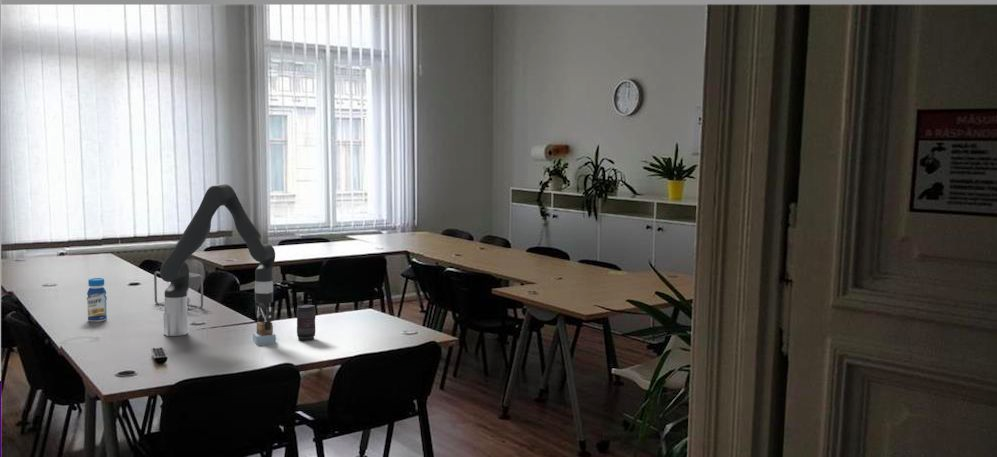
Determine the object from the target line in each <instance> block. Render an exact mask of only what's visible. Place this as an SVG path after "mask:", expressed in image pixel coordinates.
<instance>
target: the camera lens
mask: <svg viewBox="0 0 997 457" xmlns="http://www.w3.org/2000/svg"><path fill="white" fill-rule="evenodd" d="M316 309H317V308H316V305H313V304H300V305H297V307H296V336H297V339H298V341H299V342H310V341H311V342H312V341H313V340H314V339H315V336H316V316H317V314H316Z"/></svg>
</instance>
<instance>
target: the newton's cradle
mask: <svg viewBox="0 0 997 457" xmlns="http://www.w3.org/2000/svg"><path fill="white" fill-rule="evenodd" d="M157 275H160V271H158V270H157V271H155V272H154V273H153V276H154V277H153V278H154V279H153V280H154V281H153V283H154V285H153V286H154V289H153V290H154V302H155V304H156V305H158V306H160V307H165V301H162V302H158V293H157V292H158V287H157V286H158V285H157V282H158V281H157ZM195 277H198V278H199V279H200V305H197V304H192V303H191V297H189V296H188V295H189V292H187V307H188V306H189V307H191V308H187V311H188V310H189V311H190V310H194V309H195V310H196V309H202V308H203V307H204V278H203V275H202V274H199V273H194V272H189V278H195ZM190 282H191V280H189V284H190ZM167 286H168V287H169V286H170V285H167ZM168 287H167V288H168ZM188 290H189V288H188Z"/></svg>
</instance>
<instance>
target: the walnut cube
mask: <svg viewBox="0 0 997 457" xmlns="http://www.w3.org/2000/svg"><path fill="white" fill-rule="evenodd" d="M272 326H273V322H271V330H265V320H263V321H262V322H258V321H256V332H257V334H259V335H261V336H263V335H271V334H272Z"/></svg>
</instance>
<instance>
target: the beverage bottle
mask: <svg viewBox="0 0 997 457" xmlns="http://www.w3.org/2000/svg"><path fill="white" fill-rule="evenodd" d="M87 283H88V287H89V288H88V290H87V292H86V295H87V297H86V301H87V302H86V303H87V321H88V322H90V323H92V322H93V323H96V322H97V323H99V322H104V321H107V319H108V314H107V313H108V312H107V301H108V297H107V291H106V289H105V288H104V286H105V278H104V277H94V278H89V279H88V281H87Z"/></svg>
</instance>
